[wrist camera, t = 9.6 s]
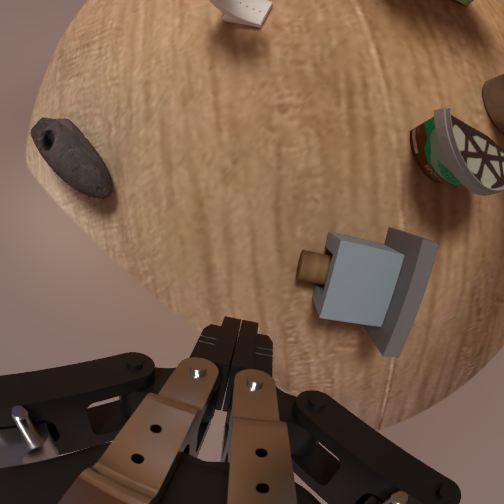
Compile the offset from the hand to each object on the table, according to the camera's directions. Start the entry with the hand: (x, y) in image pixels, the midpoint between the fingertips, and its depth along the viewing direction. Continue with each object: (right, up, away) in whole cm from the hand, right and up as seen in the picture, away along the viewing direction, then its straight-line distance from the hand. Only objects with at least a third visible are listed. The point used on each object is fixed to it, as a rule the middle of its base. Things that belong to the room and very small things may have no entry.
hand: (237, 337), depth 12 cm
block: (+12, +2, +18) cm, 22 cm away
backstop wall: (+16, +1, +18) cm, 24 cm away
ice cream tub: (+23, +14, +15) cm, 31 cm away
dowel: (+10, +2, +18) cm, 21 cm away
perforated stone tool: (-21, +16, +18) cm, 32 cm away
